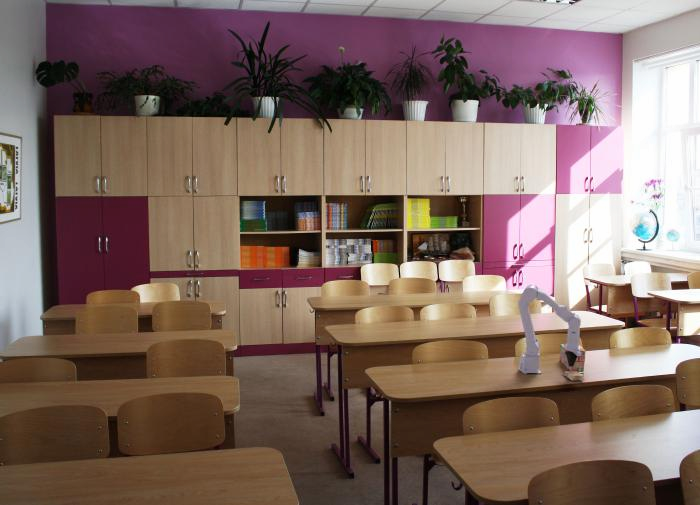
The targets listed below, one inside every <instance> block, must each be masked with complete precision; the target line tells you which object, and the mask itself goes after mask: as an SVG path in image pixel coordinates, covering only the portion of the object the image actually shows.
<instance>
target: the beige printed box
mask: <svg viewBox="0 0 700 505" xmlns="http://www.w3.org/2000/svg"><path fill="white" fill-rule="evenodd" d="M559 346H560V347H559V362H560V361H561V362H562V363H563V364H564V365H565V366H566V367H567V368H568V369H569V370H570V371H577V372H584V371H585V361H586V352H587V351H586V349H584V347H582V345H579V348H580V352H581V356H578V357H577V359H576V361H575V364H574V366H573V367H570V366H569V365H568V360H567V356H566V354H565V351H568V350H566V348H564V344H562V343H561V344H560V345H559ZM561 362H560V363H561ZM562 363H561V364H562ZM563 364H562V365H563ZM564 365H563V366H564ZM565 366H564V367H565ZM566 367H565V368H566ZM567 368H566V369H567ZM568 369H567V370H568ZM569 370H568V371H569Z"/></svg>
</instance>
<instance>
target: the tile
mask: <svg viewBox="0 0 700 505" xmlns="http://www.w3.org/2000/svg"><path fill="white" fill-rule="evenodd" d="M564 374H565V376H566V377H567V378H569V379H570V380H569V379H568V380H569V381H584V374H583V373H579V372H577V371H569V370H568V371H567V370H566V371H565V372H564ZM566 377H565V378H566ZM567 378H566V379H567Z"/></svg>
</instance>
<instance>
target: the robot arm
mask: <svg viewBox="0 0 700 505" xmlns="http://www.w3.org/2000/svg"><path fill="white" fill-rule="evenodd" d="M520 295H521V296H520V298H519V301H518V303H517V304H518V309H519V315H520V318H521V322H522V326H523V331H524V332H523V333H524V336H525V344H526V345H525V353H524V354H521V355H520V356H519V362H518V363H519V364H518V366H519V367H518V370H519V371H520V372H521V373H522V374H524V375H526V374H527V373H537V374H543V373H542V371H540V357H541V356H540V355H541V354H540V352H539V351H540V348H541V343H540V342H539V341H538V339H537V336H536V333H535V329H534V325H533V320H532V315H531V312H530V307H529V305H530V303H531V302H532V301H534V300H535V299H536V301H542V302H543V303H545V304H546V305H547V306H549V307H550V308H551V309H553V310H554V311H555V315H556V316H558V317H559V318H560V319H561V320H562V321H564V322H565V323H567V325H568V329H567V335H566V336H567V338H566V343H565V344H564V348H566V350H568V351H565V354H566V356H567V360H568V365H569V366H570V367H573V366H574V364H575V361H576V359H577V357H578V356H581V352H580V348H579V346H580V334H581V331H580V330H581V324H582V323H581V322H582V321H581V320H582V319H581V317H580V316H579V315H578V314H576V313H575V312H572V311H571V310H570V308H569V307H568V306H567V305H563V304H559V303H557V302H556V301H555V300H554V299H553V298H551V297H550V295H548V294H547V293H546V292H545V291H544V290H543V289H541V288H538V286H537V285H535V284H529V285H527V286H526V288H525V289H524V290H523V292H522V293H521V294H520Z"/></svg>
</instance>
